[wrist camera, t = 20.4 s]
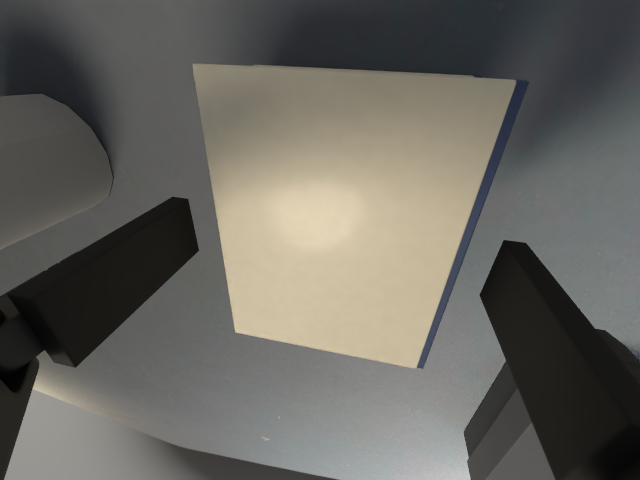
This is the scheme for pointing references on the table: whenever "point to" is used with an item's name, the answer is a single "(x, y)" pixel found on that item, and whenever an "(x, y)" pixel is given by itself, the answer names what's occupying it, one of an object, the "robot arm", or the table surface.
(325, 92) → the cream book
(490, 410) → the grey stack
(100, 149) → the cup
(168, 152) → the table surface
